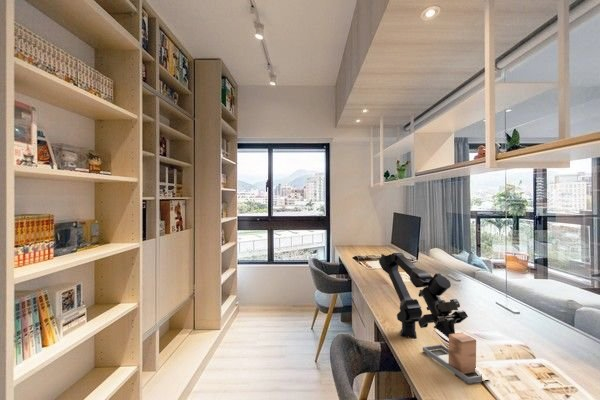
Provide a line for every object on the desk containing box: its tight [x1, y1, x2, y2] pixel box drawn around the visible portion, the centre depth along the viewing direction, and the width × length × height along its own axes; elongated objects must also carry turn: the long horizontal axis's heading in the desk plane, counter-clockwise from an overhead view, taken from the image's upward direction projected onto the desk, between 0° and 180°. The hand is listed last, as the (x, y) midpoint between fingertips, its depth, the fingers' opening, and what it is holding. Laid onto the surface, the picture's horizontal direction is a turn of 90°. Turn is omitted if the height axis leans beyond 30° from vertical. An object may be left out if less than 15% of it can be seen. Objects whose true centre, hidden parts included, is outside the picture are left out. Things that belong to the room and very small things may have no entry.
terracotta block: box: [448, 332, 477, 374], centre depth 106 cm, size 6×6×11 cm
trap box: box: [422, 343, 483, 386], centre depth 110 cm, size 22×9×2 cm, turn 17°
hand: (455, 341), depth 109 cm, fingers closed
